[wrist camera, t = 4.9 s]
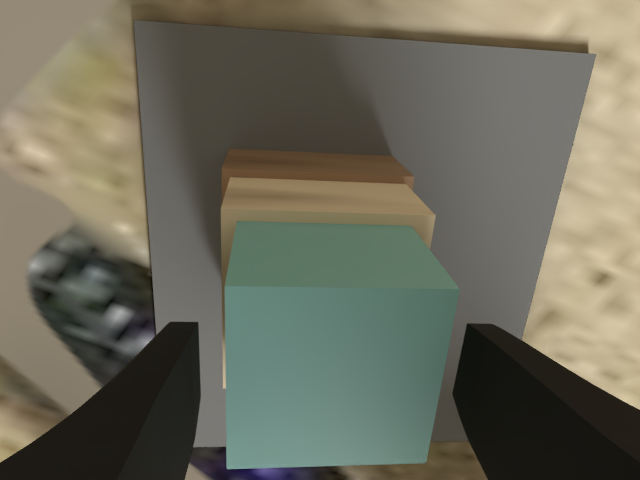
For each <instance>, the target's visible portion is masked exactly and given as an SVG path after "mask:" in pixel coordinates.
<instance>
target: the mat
mask: <svg viewBox="0 0 640 480" xmlns="http://www.w3.org/2000/svg"><path fill="white" fill-rule="evenodd" d="M134 31H135V45H136V59H137V73H138V87H139V100H140V114H141V128H142V142H143V156H144V170H145V184H146V197H147V211H148V225H149V239H150V253H151V267H152V280H153V294H154V308H155V322H156V335H157V334H158V333H159V332H160V331H161V330H162V329H163V328H164V327H165V326H166V325H167V324H168V323H169V322H198V325H199V355H200V384H201V400H200V407H199V415H198V422H197V429H196V436H195V441H194V445H193V447H221V446H227V445H226V389H223V351H222V271H221V206H222V166H223V164H224V161H225V159H226V156H227V153H228V151H229V148H231V149H253V150H275V151H297V152H319V153H341V154H363V155H385V156H393V157H394V158H395V159H396V160H397V161H398V162H400V163H401V164H402V165H403V166H404V167H405V168H406V169H407V170H408V171H409V172H410V173H411V174H412V175H413V176H414V184H413V192H414V193H415V194H416V195H417V196H418V197H419V198H420V199H421V200H422V201H423V203H424V204H425V205H426V206H427V207H428V208H429V209H430V210H431V211H432V212H433V213H434V214H435V215H436V216H435V223H434V229H433V235H432V241H431V247H430V251H431V252H432V253H433V255H434V256H435V257H436V258H437V260H438V261H439V262H440V264H441V265H442V266H443V268H444V269H445V270H446V272H447V273H448V274H449V275H450V277H451V278H452V279H453V281H454V282H455V283H456V285H457V286H458V287H459V289H460V292H459V297H458V302H457V307H456V312H455V317H454V322H453V328H452V333H451V338H450V343H449V348H448V353H447V358H446V364H445V369H444V374H443V379H442V384H441V389H440V394H439V399H438V405H437V410H436V415H435V420H434V425H433V430H432V435H431V441H430V442H443V441H469V440H468V438H467V436H466V434H465V431H464V428H463V425H462V422H461V420H460V417H459V414H458V411H457V408H456V405H455V401H454V398H453V395H452V392H453V388H454V383H455V378H456V373H457V369H458V364H459V359H460V354H461V349H462V345H463V340H464V335H465V330H466V326H467V323H476V324H494V325H496V326H498V327H500V328H501V329H503V330H505V331H507V332H508V333H510V334H512V335H513V336H515V337H517V338H518V339H520V340H522V336H523V332H524V328H525V324H526V321H527V317H528V313H529V309H530V305H531V302H532V298H533V294H534V290H535V286H536V282H537V279H538V275H539V271H540V267H541V263H542V260H543V256H544V252H545V248H546V244H547V241H548V237H549V233H550V229H551V225H552V221H553V218H554V214H555V210H556V206H557V202H558V199H559V195H560V191H561V187H562V183H563V180H564V176H565V172H566V168H567V164H568V160H569V157H570V153H571V149H572V145H573V141H574V138H575V134H576V130H577V126H578V122H579V118H580V115H581V111H582V107H583V103H584V99H585V96H586V92H587V88H588V84H589V80H590V77H591V73H592V69H593V65H594V61H595V57H596V54H589V53H575V52H561V51H548V50H534V49H521V48H507V47H493V46H480V45H466V44H453V43H439V42H426V41H412V40H398V39H385V38H371V37H358V36H344V35H330V34H317V33H303V32H290V31H276V30H263V29H249V28H235V27H222V26H208V25H195V24H181V23H167V22H154V21H140V20H134Z"/></svg>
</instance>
